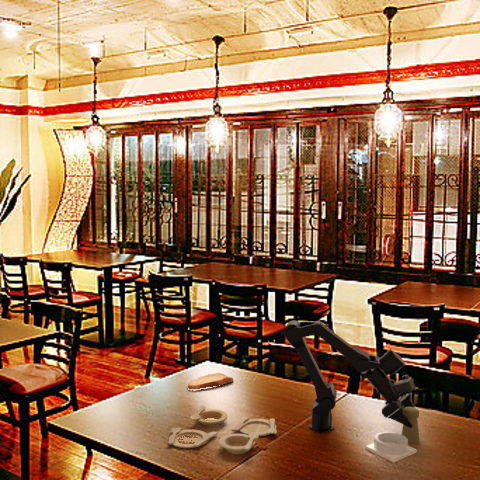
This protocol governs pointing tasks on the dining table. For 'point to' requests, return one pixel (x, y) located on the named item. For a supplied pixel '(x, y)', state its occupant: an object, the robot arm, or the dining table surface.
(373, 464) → the dining table surface
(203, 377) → the bread slice
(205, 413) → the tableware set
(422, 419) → the dining table surface
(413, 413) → the cork
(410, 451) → the guard dock
